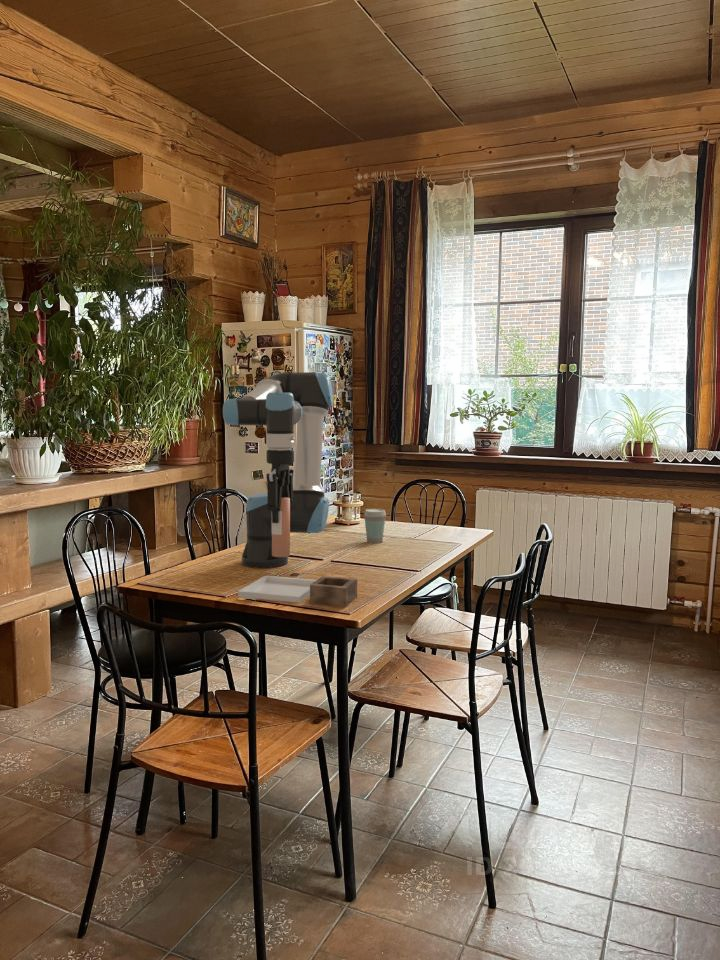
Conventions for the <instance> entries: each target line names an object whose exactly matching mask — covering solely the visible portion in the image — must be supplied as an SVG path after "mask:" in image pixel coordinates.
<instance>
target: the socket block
mask: <svg viewBox="0 0 720 960" xmlns="http://www.w3.org/2000/svg"><path fill="white" fill-rule="evenodd" d="M315 580H316V581H315V582H314V583H312V584H311V585H310V595H309V604H310V605H319V606H320V605H321V606H331V607H341V608H347V607H348V606H349V605H350V604H351V603H352V602H353V601H354V600H356V599H357V598H358V578H350V577H341V576H328V575H327V576H326V575H322V576H321V577H319V578H318V579H315Z"/></svg>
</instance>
